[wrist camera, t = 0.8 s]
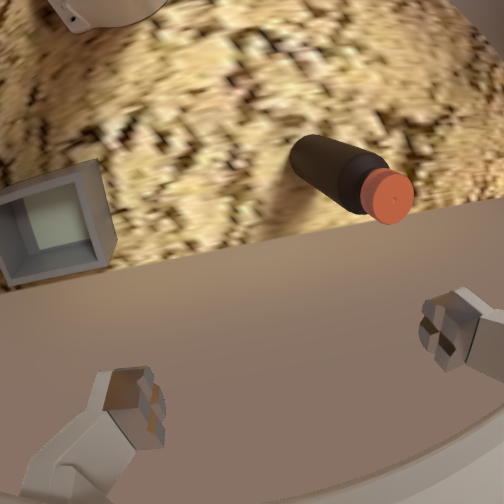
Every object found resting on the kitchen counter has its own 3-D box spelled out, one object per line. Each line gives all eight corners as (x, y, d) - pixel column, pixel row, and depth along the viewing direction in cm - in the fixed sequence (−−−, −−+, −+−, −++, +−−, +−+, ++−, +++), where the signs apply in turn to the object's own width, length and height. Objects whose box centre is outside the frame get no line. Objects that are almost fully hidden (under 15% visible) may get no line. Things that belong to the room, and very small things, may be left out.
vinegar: (299, 187, 46) (371, 246, 28) (282, 144, 42) (354, 180, 25) (338, 168, 46) (425, 216, 28) (324, 127, 42) (414, 152, 25)
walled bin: (28, 259, 41) (8, 286, 34) (4, 187, 35) (-23, 205, 28) (117, 239, 43) (107, 266, 36) (97, 158, 38) (80, 171, 31)
